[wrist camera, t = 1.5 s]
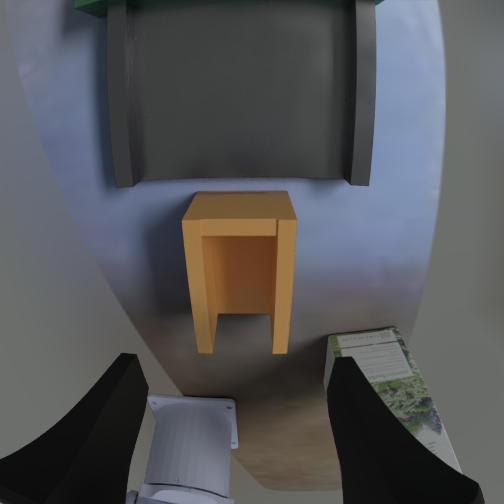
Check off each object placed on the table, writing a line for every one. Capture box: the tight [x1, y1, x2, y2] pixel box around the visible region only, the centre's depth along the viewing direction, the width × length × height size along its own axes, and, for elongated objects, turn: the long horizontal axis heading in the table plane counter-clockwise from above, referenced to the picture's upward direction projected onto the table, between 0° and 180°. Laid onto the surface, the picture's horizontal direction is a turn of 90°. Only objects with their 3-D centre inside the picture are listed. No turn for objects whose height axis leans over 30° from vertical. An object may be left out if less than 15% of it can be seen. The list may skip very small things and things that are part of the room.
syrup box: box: [323, 327, 462, 478], centre depth 17 cm, size 6×6×14 cm
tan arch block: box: [182, 191, 297, 354], centre depth 18 cm, size 8×5×4 cm, turn 0°
